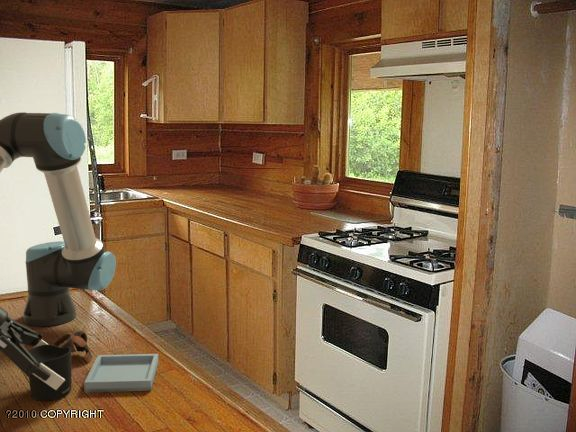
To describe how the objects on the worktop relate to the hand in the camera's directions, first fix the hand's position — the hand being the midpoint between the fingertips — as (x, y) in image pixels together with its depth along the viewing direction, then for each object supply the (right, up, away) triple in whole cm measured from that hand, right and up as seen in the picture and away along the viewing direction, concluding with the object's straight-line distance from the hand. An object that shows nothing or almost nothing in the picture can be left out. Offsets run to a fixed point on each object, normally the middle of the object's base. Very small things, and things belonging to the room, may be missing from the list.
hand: (60, 371), depth 137 cm
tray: (+12, -3, +9) cm, 15 cm away
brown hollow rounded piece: (-3, -2, +18) cm, 18 cm away
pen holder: (-2, -5, 0) cm, 5 cm away
